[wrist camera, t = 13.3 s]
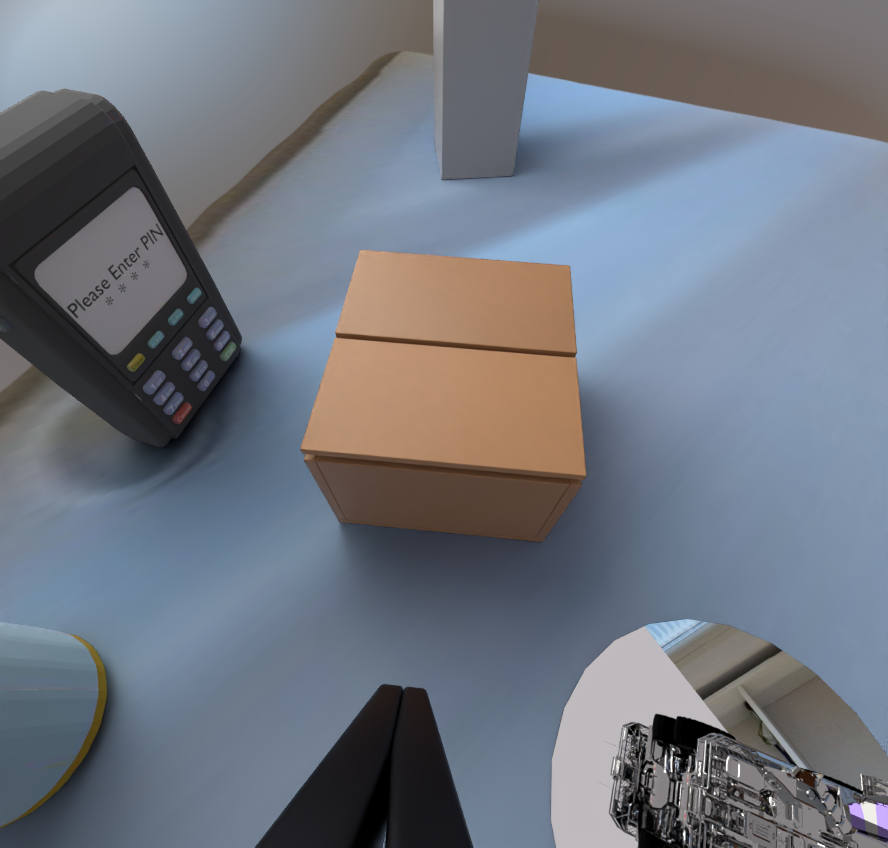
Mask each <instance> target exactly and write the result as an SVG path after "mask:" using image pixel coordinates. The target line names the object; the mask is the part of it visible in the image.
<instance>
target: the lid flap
mask: <svg viewBox="0 0 888 848" xmlns="http://www.w3.org/2000/svg"><path fill="white" fill-rule="evenodd" d="M300 450H301V452H302V453H303V454H310V455H320V456H331V457H342V458H352V459H363V460H374V461H384V462H395V463H406V464H417V465H427V466H438V467H449V468H459V469H470V470H481V471H491V472H502V473H513V474H523V475H534V476H545V477H555V478H566V479H577V480H584V479H585V477H586V465H585V453H584V442H583V430H582V419H581V407H580V396H579V384H578V373H577V361H576V358H571V357H559V356H547V355H535V354H523V353H511V352H499V351H487V350H475V349H463V348H451V347H439V346H427V345H415V344H403V343H391V342H379V341H367V340H355V339H343V338H335V339H334V343H333V346H332V349H331V352H330V355H329V359H328V362H327V365H326V368H325V371H324V375H323V378H322V381H321V384H320V387H319V390H318V394H317V397H316V400H315V403H314V406H313V410H312V413H311V416H310V419H309V422H308V426H307V429H306V432H305V435H304V438H303V442H302V445H301V448H300Z"/></svg>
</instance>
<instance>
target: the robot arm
mask: <svg viewBox="0 0 888 848" xmlns="http://www.w3.org/2000/svg"><path fill="white" fill-rule="evenodd" d="M385 832H386V841H385V848H473V845H472V841H471V838H470V835H469V831H468V828H467V825H466V821H465V818H464V815H463V811H462V808H461V804H460V801H459V798H458V794H457V791H456V788H455V784H454V781H453V778H452V774H451V771H450V768H449V764H448V761H447V758H446V754H445V751H444V747H443V744H442V741H441V737H440V734H439V731H438V727H437V724H436V721H435V717H434V714H433V711H432V707H431V704H430V701H429V697H428V694H427V692H426V690H425V689H423V688H414V687H406V688H405V689H404V690H403V688H402V687H401V686H397V685H388V684H383V685H381V686H380V687H379V688H378V689H377V691H376V692H375V693H374V694H373V696H372V697H371V698H370V700H369V701H368V702H367V703H366V705H365V706H364V707H363V709H362V710H361V711H360V712H359V714H358V715H357V716H356V718H355V719H354V720H353V722H352V723H351V724H350V725H349V727H348V728H347V729H346V731H345V732H344V733H343V734H342V736H341V737H340V738H339V740H338V741H337V742H336V743H335V745H334V746H333V747H332V749H331V750H330V751H329V752H328V754H327V755H326V756H325V758H324V759H323V760H322V762H321V763H320V764H319V765H318V767H317V768H316V769H315V771H314V772H313V773H312V774H311V776H310V777H309V778H308V780H307V781H306V782H305V783H304V785H303V786H302V787H301V789H300V790H299V791H298V792H297V794H296V795H295V796H294V798H293V799H292V800H291V802H290V803H289V804H288V805H287V807H286V808H285V809H284V811H283V812H282V813H281V814H280V816H279V817H278V818H277V820H276V821H275V822H274V823H273V825H272V826H271V827H270V829H269V830H268V831H267V832H266V834H265V835H264V836H263V838H262V839H261V840H260V841H259V843H258V844H257V845H256V847H255V848H382V847H383V842H384V838H385Z"/></svg>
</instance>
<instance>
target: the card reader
mask: <svg viewBox="0 0 888 848" xmlns="http://www.w3.org/2000/svg"><path fill="white" fill-rule="evenodd" d="M0 338H1V339H2V340H3V341H4V342H5V343H7V344H8V345H9V346H10V347H12V348H13V349H14V350H15V351H17V352H18V353H19V354H20V355H22V356H23V357H24V358H25V359H27V360H28V361H29V362H30V363H31V364H33V365H34V366H35V367H36V368H38V369H39V370H40V371H41V372H43V373H44V374H45V375H46V376H48V377H49V378H50V379H51V380H53V381H54V382H55V383H56V384H58V385H59V386H60V387H61V388H63V389H64V390H65V391H67V392H68V393H69V394H71V395H72V396H73V397H75V398H76V399H77V400H79V401H80V402H81V403H83V404H84V405H85V406H86V407H88V408H89V409H90V410H92V411H93V412H94V413H96V414H97V415H98V416H100V417H101V418H102V419H104V420H105V421H106V422H108V423H109V424H110V425H112V426H113V427H114V428H116V429H117V430H118V431H120V432H121V433H123V434H124V435H126V436H128V437H130V438H132V439H134V440H137V441H141V442H144V443H147V444H150V445H153V446H156V447H163V446H165V445H167V444H168V442H169V441H170V440H171V438H173V439H174V438H178V437H179V435H180V434H181V433H182V431H183V430H184V428H185V427H186V426H187V424H188V423H189V422H190V420H191V419H192V417H193V416H194V415H195V413H196V412H197V410H198V409H199V408H200V406H201V405H202V404H203V402H204V401H205V399H206V398H207V397H208V395H209V394H210V393H211V391H212V390H213V388H214V387H215V386H216V384H217V383H218V382H219V380H220V379H221V377H222V376H223V375H224V373H225V372H226V371H227V369H228V368H229V366H230V365H231V364H232V362H233V361H234V360H235V358H236V357H237V355H238V354H239V353H240V344H241V341H242V337H241V334H240V332H239V330H238V328H237V326H236V324H235V322H234V320H233V318H232V316H231V314H230V312H229V310H228V309H227V307H226V305H225V303H224V301H223V299H222V297H221V295H220V293H219V291H218V289H217V287H216V285H215V283H214V281H213V279H212V277H211V275H210V274H209V272H208V270H207V268H206V266H205V264H204V262H203V261H202V259H201V257H200V255H199V253H198V251H197V249H196V248H195V246H194V244H193V242H192V240H191V238H190V236H189V235H188V233H187V231H186V229H185V227H184V225H183V224H182V222H181V220H180V218H179V216H178V214H177V212H176V210H175V209H174V207H173V205H172V203H171V201H170V199H169V197H168V196H167V194H166V192H165V190H164V188H163V186H162V184H161V183H160V181H159V179H158V177H157V175H156V173H155V171H154V170H153V168H152V166H151V164H150V162H149V160H148V159H147V157H146V155H145V153H144V151H143V150H142V148H141V146H140V144H139V142H138V140H137V138H136V137H135V135H134V133H133V131H132V129H131V128H130V126H129V124H128V123H127V121H126V120H125V119H124V117H123V116H122V114H121V113H120V112H119V111H118V110H117V109H116V107H115V106H114V105H112V104H111V103H110V102H109V101H108V100H106V99H105V98H104V97H102V96H99V95H95V94H90V93H85V92H79V91H74V90H69V89H61V90H58V91H55V92H47V91H39V92H36V93H34V94H33V95H30V96H29V97H27V98H25V99H24V100H22V101H20V102H18V103H17V104H15V105H13V106H11V107H10V108H8V109H6V110H4V111H3V112H1V113H0Z"/></svg>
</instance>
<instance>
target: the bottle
mask: <svg viewBox="0 0 888 848" xmlns="http://www.w3.org/2000/svg"><path fill="white" fill-rule="evenodd" d="M106 699H107V682H106V671H105V667H104V665H103V663H102V661H101V659H100V657H99V655H98V653H97V651H96V650H95V649H94V647H93V646H91V645H90V644H89V643H87V642H86V641H85V640H83V639H82V638H80V637H78V636H76V635H71V634H67V633H63V632H58V631H54V630H48V629H42V628H36V627H30V626H23V625H17V624H11V623H5V622H0V828H3V827H5V826H7V825H9V824H11V823H13V822H15V821H17V820H19V819H21V818H23V817H25V816H27V815H29V814H30V813H32V812H33V811H34V810H36V809H37V808H38V807H40V806H41V805H42V804H43V803H44V802H45V801H47V800H48V799H49V798H50V797H51V796H52V795H54V794H55V793H56V792H57V791H58V790H59V789H60V788H61V787H62V786H63V785H64V784H65V783H66V781H67V780H68V779H69V778H70V776H71V775H72V774H73V772H74V771H75V770H76V768H77V767H78V766H79V765H80V763H81V762H82V761H83V759H84V757H85V756H86V754H87V753H88V751H89V748H90V746H91V744H92V742H93V740H94V738H95V736H96V734H97V732H98V730H99V727H100V724H101V722H102V718H103V713H104V708H105V704H106Z"/></svg>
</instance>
